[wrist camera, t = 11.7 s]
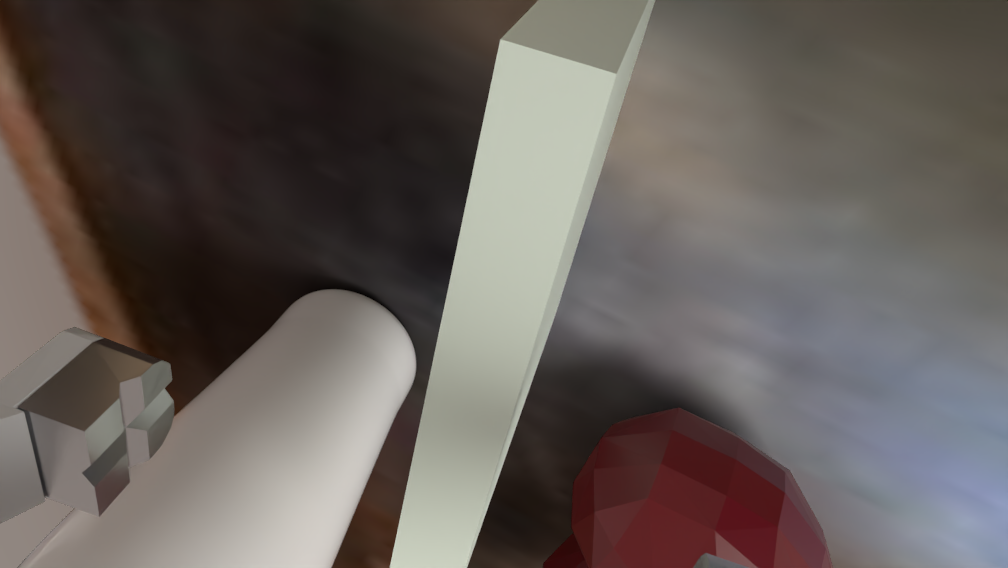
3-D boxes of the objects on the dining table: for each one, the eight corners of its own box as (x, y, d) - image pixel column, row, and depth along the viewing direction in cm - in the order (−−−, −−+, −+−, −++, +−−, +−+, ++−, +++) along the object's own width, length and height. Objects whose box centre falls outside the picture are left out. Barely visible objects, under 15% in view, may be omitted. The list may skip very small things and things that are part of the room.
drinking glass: (460, 412, 29) (258, 858, 17) (307, 412, 31) (30, 807, 19) (411, 257, 26) (117, 670, 14) (244, 270, 28) (-137, 635, 16)
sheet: (611, -76, 19) (500, 39, 10) (673, -58, 19) (617, 73, 10) (509, 301, 26) (389, 569, 17) (554, 316, 26) (457, 594, 17)
